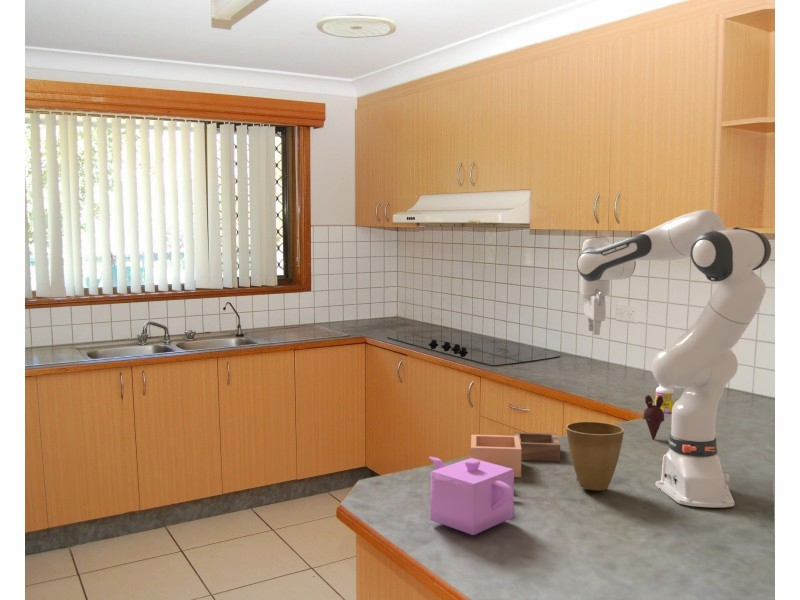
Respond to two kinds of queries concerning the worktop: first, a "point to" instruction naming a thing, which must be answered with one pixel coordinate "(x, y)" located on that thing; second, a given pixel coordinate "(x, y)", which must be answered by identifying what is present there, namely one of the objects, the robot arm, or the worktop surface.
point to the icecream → (653, 414)
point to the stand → (498, 451)
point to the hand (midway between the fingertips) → (593, 332)
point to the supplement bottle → (665, 398)
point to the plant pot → (594, 452)
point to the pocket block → (539, 446)
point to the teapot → (471, 495)
